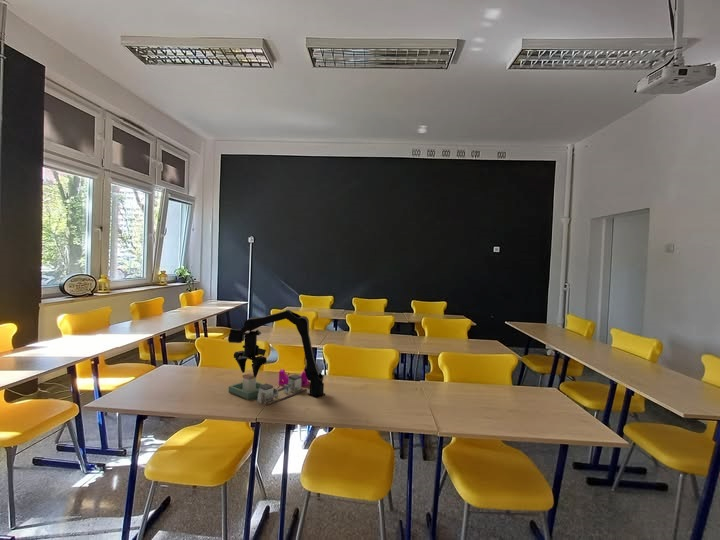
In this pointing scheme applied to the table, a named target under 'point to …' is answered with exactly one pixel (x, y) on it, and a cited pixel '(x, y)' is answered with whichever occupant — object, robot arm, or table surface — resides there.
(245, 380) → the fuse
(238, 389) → the tray
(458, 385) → the table surface
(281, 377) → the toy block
